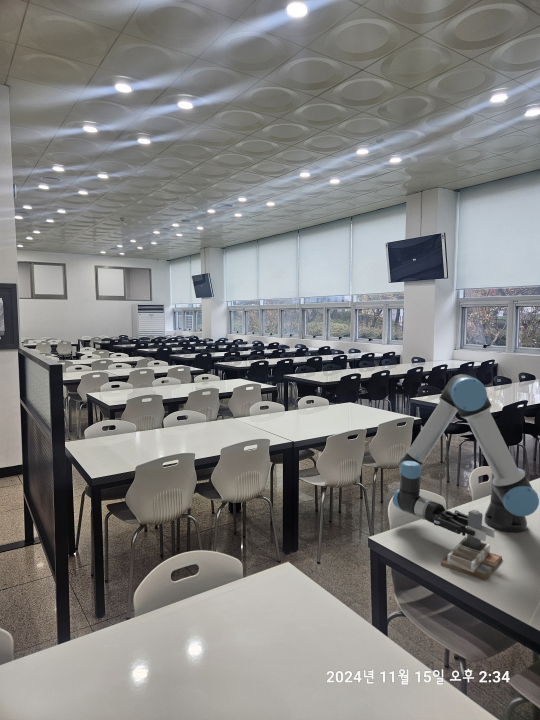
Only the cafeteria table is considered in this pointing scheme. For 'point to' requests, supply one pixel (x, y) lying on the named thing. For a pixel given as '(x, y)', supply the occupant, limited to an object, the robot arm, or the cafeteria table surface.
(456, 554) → the socket board
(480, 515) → the plug
